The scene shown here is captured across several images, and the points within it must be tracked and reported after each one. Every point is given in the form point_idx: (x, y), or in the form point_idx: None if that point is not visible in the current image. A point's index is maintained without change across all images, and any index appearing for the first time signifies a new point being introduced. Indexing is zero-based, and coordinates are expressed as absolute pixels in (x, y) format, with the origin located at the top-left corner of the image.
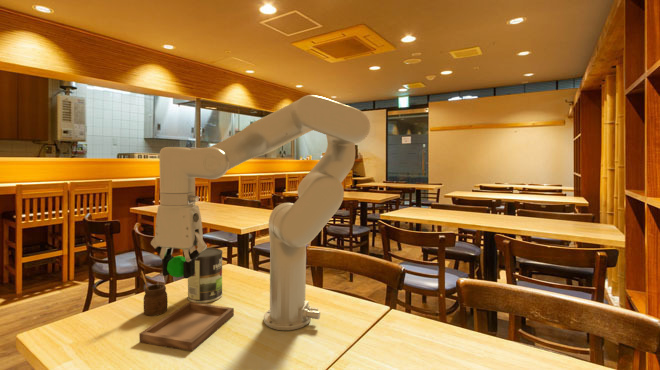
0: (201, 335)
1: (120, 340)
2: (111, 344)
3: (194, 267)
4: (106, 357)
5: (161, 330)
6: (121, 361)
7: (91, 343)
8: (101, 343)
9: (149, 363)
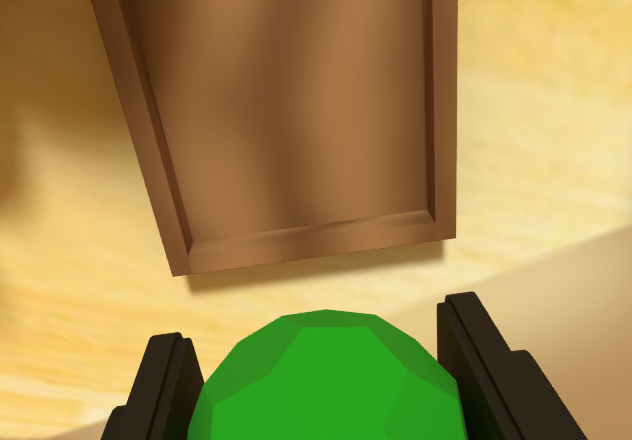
0: (455, 169)
1: (92, 275)
2: (93, 306)
3: (552, 395)
4: None
5: (190, 166)
6: None
7: (15, 330)
8: (49, 316)
9: None
